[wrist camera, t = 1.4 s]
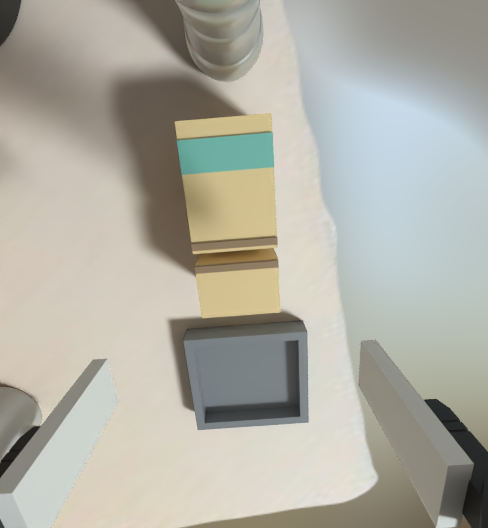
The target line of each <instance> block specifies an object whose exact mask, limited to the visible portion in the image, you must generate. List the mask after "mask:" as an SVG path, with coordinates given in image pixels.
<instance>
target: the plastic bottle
mask: <svg viewBox="0 0 488 528" xmlns="http://www.w3.org/2000/svg"><path fill="white" fill-rule="evenodd" d="M175 1H176V3H177V4H178V6H179V8H180V10H181V12H182V14H183V19H184V31H185V38H186V44H187V47H188V51H189V53H190V55H191V57H192V59H193V61H194V63H195V64H196V65H197V67H198V68H199V69H200V70H201V71H202V72H203V73H205V74H206V75H208V76H209V77H211V78H212V79H215V80H218V81H222V82H229V81H234V80H237V79H239V78H241V77H242V76H244V75H245V74H246V73H247V72H248V71H249V70H250V69H251V68H252V66H253V65H254V63H255V62H256V60H257V58H258V56H259V54H260V51H261V47H262V43H263V21H262V15H261V10H260V0H175Z"/></svg>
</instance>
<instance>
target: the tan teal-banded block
mask: <svg viewBox="0 0 488 528" xmlns="http://www.w3.org/2000/svg"><path fill="white" fill-rule="evenodd" d="M175 128H176V136H177V147H178V154H179V161H180V168H181V175H182V179H183V186H184V194H185V201H186V208H187V215H188V223H189V230H190V237H191V248H192V252H193V254H202V253H215V252H227V251H240V250H253V249H266V248H277V245H278V244H277V228H276V206H275V183H274V155H273V132H272V117H271V113H267V114H255V115H243V116H232V117H220V118H208V119H197V120H185V121H175Z"/></svg>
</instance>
